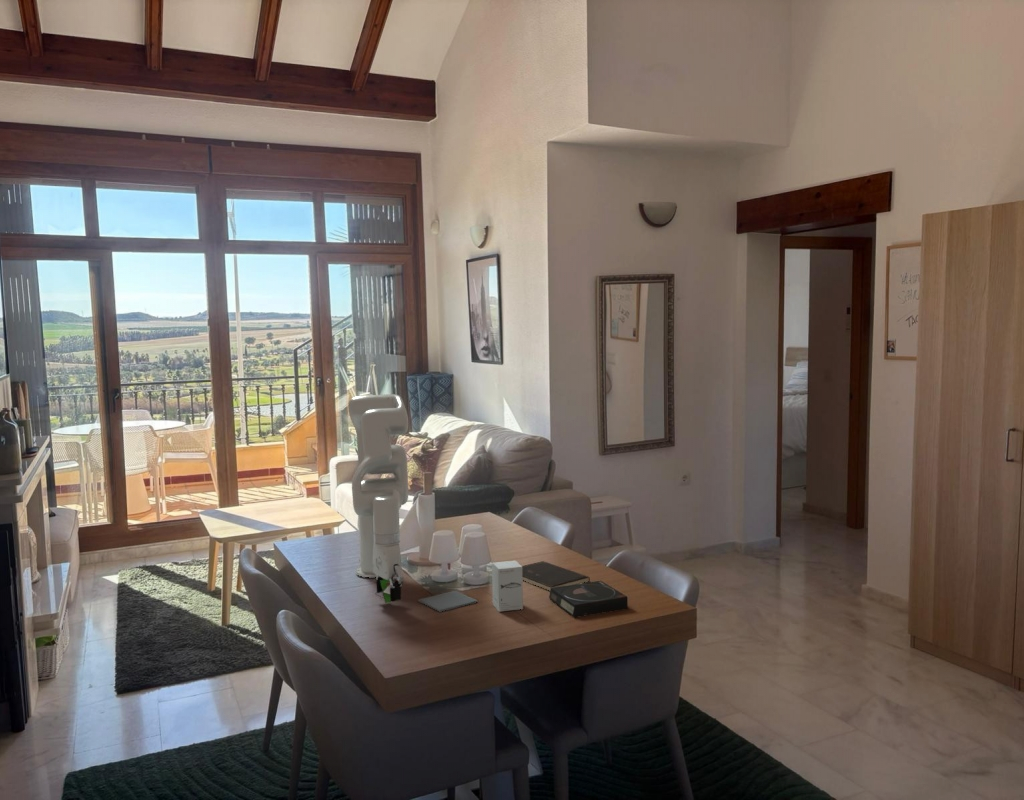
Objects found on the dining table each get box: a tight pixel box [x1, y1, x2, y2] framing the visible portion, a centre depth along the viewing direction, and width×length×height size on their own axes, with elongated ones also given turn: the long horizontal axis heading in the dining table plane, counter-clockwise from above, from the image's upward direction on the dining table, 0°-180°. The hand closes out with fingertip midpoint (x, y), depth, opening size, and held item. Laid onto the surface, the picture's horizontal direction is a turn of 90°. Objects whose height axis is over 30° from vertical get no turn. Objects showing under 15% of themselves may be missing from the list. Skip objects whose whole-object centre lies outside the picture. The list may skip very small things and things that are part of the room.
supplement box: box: [491, 560, 524, 613], centre depth 229 cm, size 7×7×13 cm
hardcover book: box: [521, 560, 591, 592], centre depth 256 cm, size 16×23×2 cm
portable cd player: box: [548, 580, 629, 618], centre depth 230 cm, size 16×17×4 cm
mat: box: [417, 590, 478, 613], centre depth 235 cm, size 12×13×1 cm
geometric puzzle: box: [375, 579, 396, 604], centre depth 233 cm, size 7×7×8 cm
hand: (388, 596), depth 233 cm, fingers closed on geometric puzzle, 8 cm apart
